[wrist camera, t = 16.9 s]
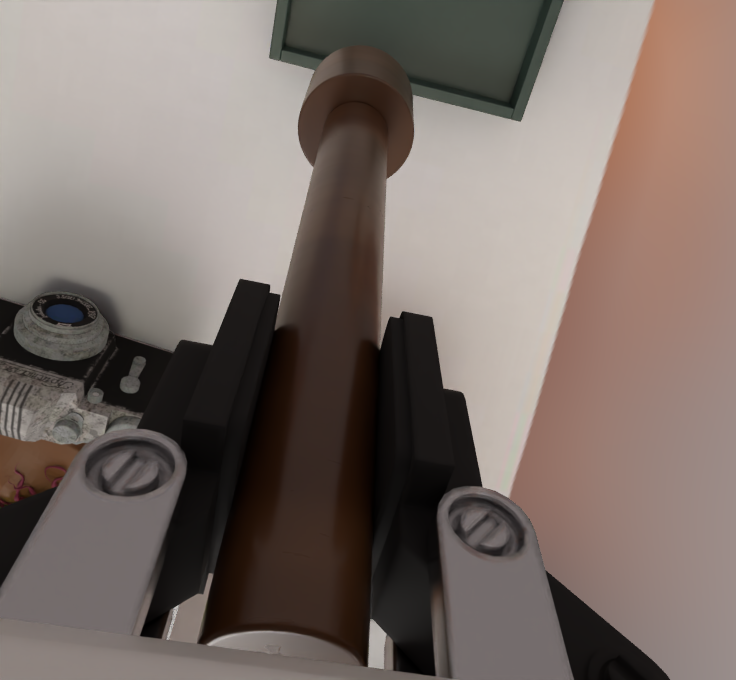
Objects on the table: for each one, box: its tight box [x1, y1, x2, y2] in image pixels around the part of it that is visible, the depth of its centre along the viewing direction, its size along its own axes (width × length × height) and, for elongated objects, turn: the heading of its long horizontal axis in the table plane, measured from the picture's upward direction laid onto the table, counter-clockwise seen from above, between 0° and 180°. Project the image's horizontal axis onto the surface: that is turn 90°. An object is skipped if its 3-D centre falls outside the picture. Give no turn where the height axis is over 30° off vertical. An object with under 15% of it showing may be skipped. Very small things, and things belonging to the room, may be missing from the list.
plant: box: [0, 435, 87, 508], centre depth 49 cm, size 20×20×11 cm
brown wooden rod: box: [196, 45, 414, 667], centre depth 15 cm, size 4×4×19 cm
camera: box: [0, 292, 174, 445], centre depth 41 cm, size 15×7×10 cm, turn 69°
